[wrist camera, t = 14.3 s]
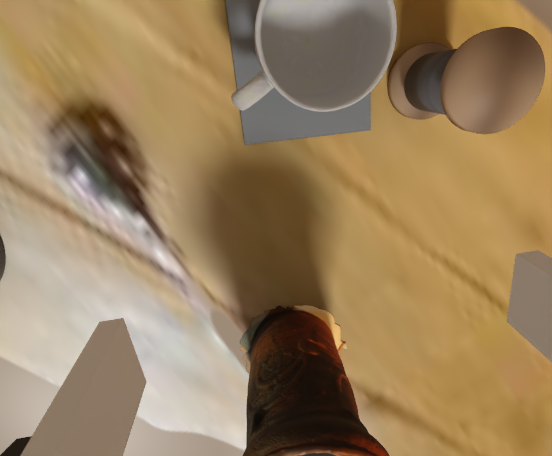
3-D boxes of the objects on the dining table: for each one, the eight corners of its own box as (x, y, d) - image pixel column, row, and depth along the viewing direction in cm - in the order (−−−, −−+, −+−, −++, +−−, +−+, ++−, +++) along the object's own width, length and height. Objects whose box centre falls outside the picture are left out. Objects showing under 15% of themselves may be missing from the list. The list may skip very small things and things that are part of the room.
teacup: (344, -47, 31) (373, -86, 24) (382, 76, 35) (417, 75, 28) (201, 27, 33) (187, 11, 25) (253, 137, 37) (254, 152, 29)
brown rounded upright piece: (387, 122, 38) (443, 139, 27) (387, 47, 35) (450, 32, 24) (452, 114, 38) (536, 128, 27) (458, 40, 35) (553, 21, 24)
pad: (245, 143, 38) (244, 144, 37) (220, -41, 32) (219, -44, 31) (368, 129, 38) (370, 130, 37) (366, -57, 32) (369, -60, 31)
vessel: (315, 400, 52) (347, 575, 33) (223, 369, 49) (201, 540, 31) (367, 324, 48) (437, 476, 29) (269, 284, 45) (276, 425, 26)
